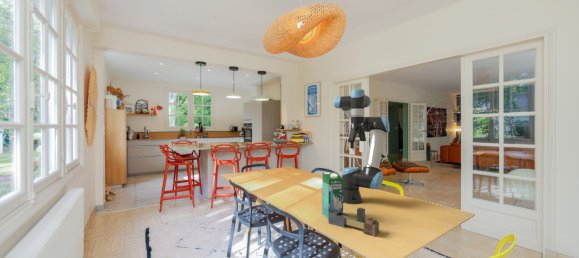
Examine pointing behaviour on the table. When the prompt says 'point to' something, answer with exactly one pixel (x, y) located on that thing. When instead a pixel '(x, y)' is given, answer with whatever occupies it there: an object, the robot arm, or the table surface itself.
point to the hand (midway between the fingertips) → (357, 153)
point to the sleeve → (337, 218)
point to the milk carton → (332, 193)
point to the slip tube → (356, 219)
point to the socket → (371, 227)
